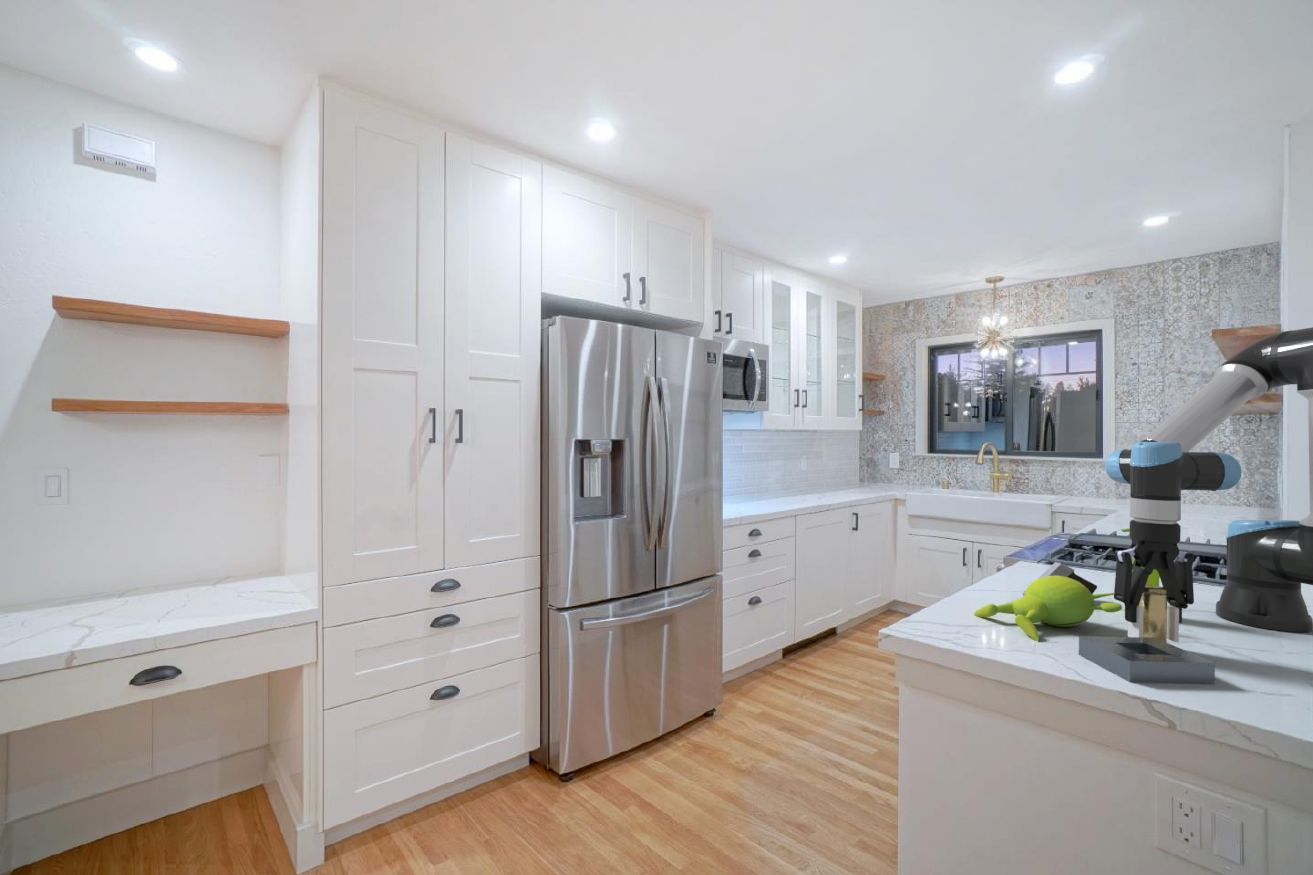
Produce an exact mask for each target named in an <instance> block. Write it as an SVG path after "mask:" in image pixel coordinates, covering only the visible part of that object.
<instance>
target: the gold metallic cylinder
mask: <svg viewBox="0 0 1313 875" xmlns="http://www.w3.org/2000/svg"><path fill="white" fill-rule="evenodd" d="M1167 604H1168V602H1167V588H1164V587H1163V586H1160V585H1159V586H1154V585H1145V588H1144V591H1143V594H1142V597H1141V600H1140V607H1143V637H1146V638H1157V639H1159V640H1161V641H1164V642H1166V643H1168V642H1167V640H1168V639H1167Z"/></svg>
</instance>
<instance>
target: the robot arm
mask: <svg viewBox="0 0 1313 875" xmlns="http://www.w3.org/2000/svg"><path fill="white" fill-rule="evenodd" d="M1287 385H1296V392H1297V394H1300V395H1301V396H1303V397H1304V398H1306V400H1307V403H1308V405H1307V406H1308V408H1307V409H1308V411H1307V413H1308V414H1307V415H1308V470H1309V471H1308V475H1309V477H1308V479H1309V480H1308V482H1309V484H1308V485H1309V486H1308V487H1309V490H1308V491H1309V514H1308V515H1307V516H1306V517H1304V518H1303V519H1301V520H1294V519H1293V520H1292V519H1291V520H1290V519H1282V520H1281V519H1236V520H1232V521H1231V522H1230V523H1229V524H1228V526H1227V527H1228V528H1227V532H1226V534H1227V535H1226V536H1225V539H1226V582H1225V585H1224V587H1223V589H1222V592H1221V594H1220V597H1219V600H1217V601H1216V604H1215V614H1216V616H1218V617H1220V618H1222V619H1225V620H1228V621H1230V622H1235V623H1238V624H1242V625H1245V626H1246V625H1247V626H1250V627H1256V628H1262V629H1267V630H1268V629H1269V630H1274V631H1282V632H1283V631H1284V632H1292V633H1293V632H1295V633H1297V632H1298V633H1304V632H1311V631H1312V630H1313V617H1312V616H1311V615H1310V614H1309V611H1308V607H1307V604H1306V602H1305V598H1304V597H1303V594H1302V584H1304V585H1309V586H1310V585H1311V586H1313V327H1307V328H1302V329H1295V330H1294V329H1293V330H1292V329H1291V330H1286V331H1285V330H1284V331H1280V332H1277V333H1274V334H1271V335H1267V336H1266V337H1263V338H1261V339H1259V340H1257V341H1255V342H1253V343H1251V344H1250V345H1248V346H1246V347H1244V348H1243V349H1241V350H1240V351H1237V353H1235V354H1234V355H1232V356H1231V357H1229V358H1228V359H1227V360H1226V361H1225V362H1223V363H1222V364H1221V365H1220V366H1218V367H1217V369H1216V370H1214V372H1213V378H1212V379H1211V380H1210V381H1209V382H1208V383H1207V384H1205V385H1204V386H1203V387H1202V388H1201V389H1200V390H1198V391H1197V392H1196V393H1195V394H1194V395H1193V396H1191V397H1190V398H1188V400H1186V402H1184V403H1183V404H1182V405H1181V406H1180V407H1178V409H1176V410H1175V411H1174V412H1173V413H1172V414H1170V415H1169V416H1168V417H1167V418H1165V420H1164V421H1162V422H1161V423H1160V424H1159V425H1157V427H1155V428H1154V429H1153V430H1152V431H1151V432H1149V433H1148V434H1147V435H1146V436H1145V437H1144V438H1142V439H1141V440H1140V441H1137V442H1135V443H1133V444H1132V446H1131V449H1125V448H1124V449H1120V450H1119V449H1118V450H1114V451H1112V452H1110V454H1109V455H1108V456H1107V457H1106V460H1105V464H1104V467H1105V469H1104V470H1105V472H1106V474H1107V476H1108V477H1109V478H1110V479H1111V480H1112V481H1114V482H1117V483H1120V484H1126V485H1130V487H1129V488H1130V494H1129V495H1130V498H1129V517H1131V518H1133V519H1131V520H1130V521H1129V528H1130V532H1129V534H1128V535H1129V538H1130V539H1131V543H1130V546H1129V548H1127V549H1124V550H1119V549H1116V550H1114V557H1115V561H1116V566H1115V567H1116V569H1115V580H1114V589H1113V590H1114V591H1113V593H1114V595H1113V598H1114V600H1116V601H1118V602H1121V603H1123V604H1124V620H1125V621H1127V637H1143V607H1140V606H1138V605H1139V603H1140V600H1141V597H1142V594H1143V591H1144V588H1145V585H1146V583H1147V580H1148V577H1149V575H1150V574H1152V572H1153V569H1156V571H1158V573H1159V580H1160V582H1161V584H1162V587H1164V588H1167V640H1168V641H1171V642H1174V643H1179V639H1180V638H1179V637H1180V634H1179V633H1180V624H1182V622H1183V609H1184V610H1186V609H1187V608H1188V607H1189V605H1193V604H1194V603H1195V597H1194V596H1195V595H1194V594H1195V593H1194V579H1193V578H1194V576H1193V564H1194V561H1195V557H1196V555H1195V554H1194V553H1193V552H1186V551H1183V550H1180V549H1179V546H1178V544H1179V543H1180V542H1181V527H1182V526H1181V525H1180V524H1179V523H1178V522H1179V521H1181V520H1182V501H1181V500H1182V491H1208V492H1217V491H1225V490H1230V489H1233V488H1234V487H1235V486H1236V485H1238V484H1239V482H1240V480H1241V479H1242V467H1241V464H1240V462H1239V461H1238V460H1237V459H1236V458H1235V457H1234V456H1232V455H1231V454H1228V453H1224V452H1216V451H1205V452H1204V451H1203V452H1202V451H1191V450H1192V449H1193V448H1195V447H1196V446H1197V445H1199V443H1201V442H1202V441H1203V440H1204V439H1205V438H1206V437H1207V436H1208V435H1210V434H1211V433H1212V432H1214V430H1215V429H1217V428H1218V427H1219V426H1221V424H1223V423H1224V422H1226V420H1227V419H1229V417H1230V416H1233V414H1234V413H1235V412H1236V411H1237V410H1239V409H1240V408H1242V406H1243V405H1245V403H1247V402H1248V401H1249V400H1252V399H1254V400H1255V399H1257V398H1260V397H1262V396H1264V395H1265V394H1266V393H1267V392H1268V391H1270V390H1272V389H1275V388H1277V387H1278V388H1279V387H1282V386H1287ZM1133 557H1134V558H1135V559H1134V558H1133ZM1132 561H1134V562H1133V564H1132ZM1141 567H1144V568H1141ZM1132 569H1133V572H1132Z"/></svg>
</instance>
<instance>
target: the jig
mask: <svg viewBox="0 0 1313 875" xmlns="http://www.w3.org/2000/svg"><path fill="white" fill-rule="evenodd" d="M1078 655H1079V656H1080V655H1081V656H1080V657H1083V658H1085V659H1086V660H1089V661H1090V662H1092V663H1093V662H1094V663H1093V664H1095V663H1096V664H1095V665H1097V664H1098V665H1097V666H1099V667H1101V666H1102V667H1101V668H1102V669H1105V670H1106V671H1109V672H1111V673H1112V674H1114V673H1115V674H1114V675H1116V674H1117V675H1116V676H1118V677H1120V678H1122V679H1124V680H1125V681H1127V682H1130V683H1160V682H1169V683H1171V684H1172V683H1173V684H1210V685H1211V684H1213V685H1215V683H1216V682H1215V681H1216V677H1215V676H1216V662H1214V661H1211V660H1210V659H1207V658H1204V657H1203V656H1199V655H1198V654H1194V653H1193V652H1190V651H1187V650H1185V649H1182V648H1180V647H1178V646H1175V645H1174V644H1171V643H1169V642H1167V643H1166V642H1164V641H1161V640H1159V639H1157V638H1146V637H1128V636H1090V635H1086V636H1085V635H1084V636H1083V635H1081V636H1080V635H1079V636H1078ZM1169 683H1168V684H1169Z"/></svg>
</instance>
